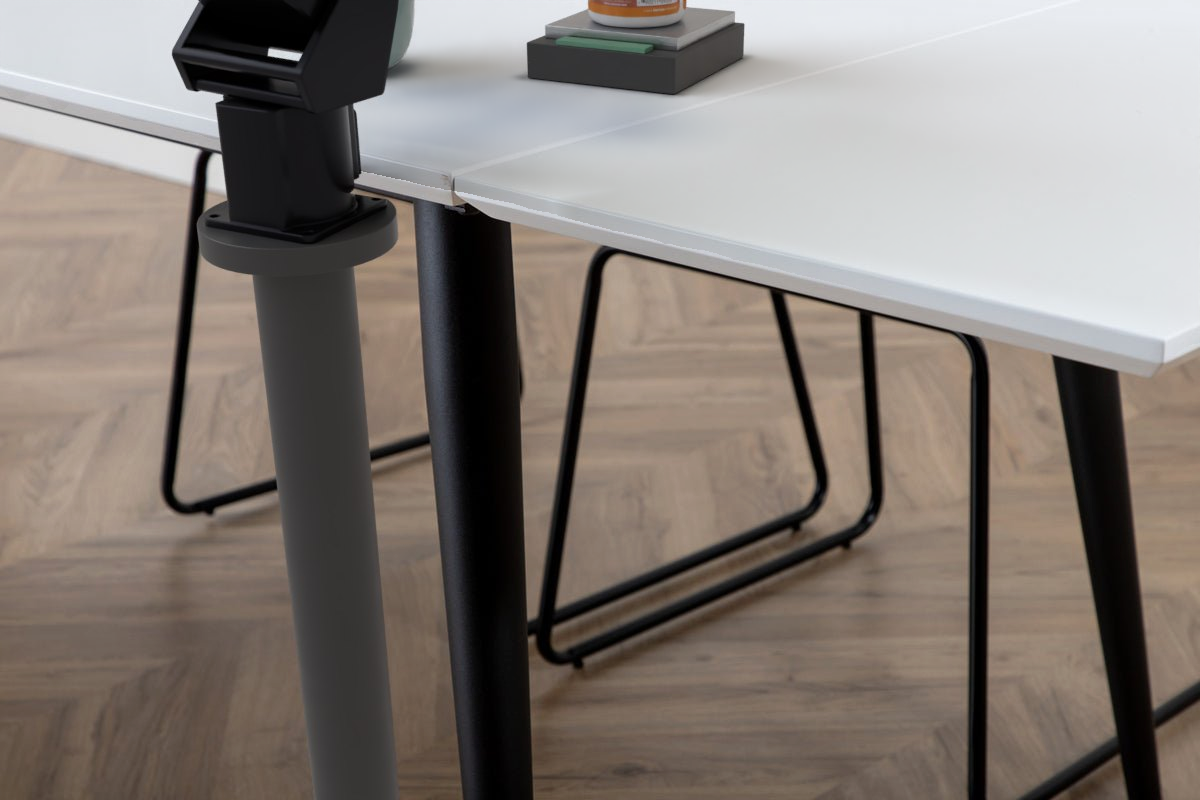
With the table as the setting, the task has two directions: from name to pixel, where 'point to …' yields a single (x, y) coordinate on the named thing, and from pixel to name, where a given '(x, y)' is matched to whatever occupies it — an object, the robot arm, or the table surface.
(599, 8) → the pill bottle
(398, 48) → the cup
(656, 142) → the table surface
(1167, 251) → the table surface
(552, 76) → the kitchen scale
